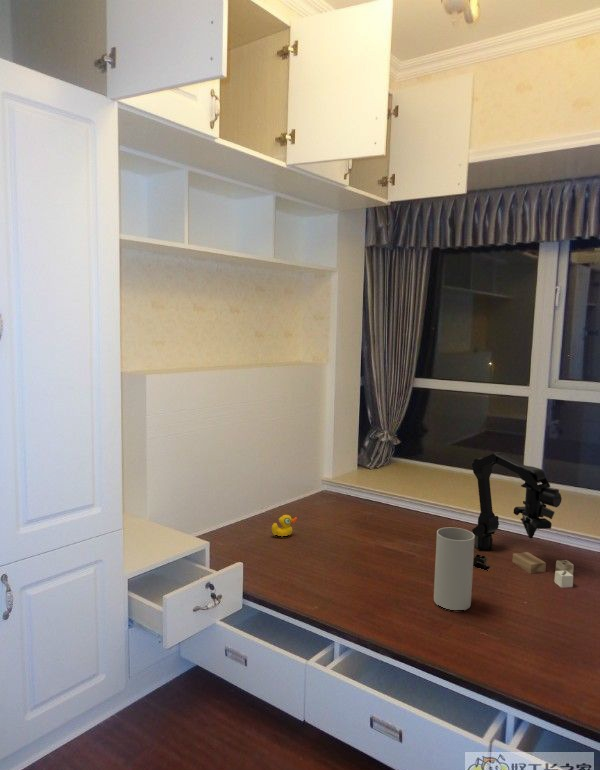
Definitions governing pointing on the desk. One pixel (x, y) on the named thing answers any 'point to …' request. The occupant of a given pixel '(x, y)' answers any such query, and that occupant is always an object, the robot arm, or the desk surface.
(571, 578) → the off-white painted block
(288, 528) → the duckling
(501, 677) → the desk surface
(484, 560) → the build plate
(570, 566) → the pale birch block
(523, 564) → the tan wooden block
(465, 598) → the cylinder vase
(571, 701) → the desk surface
